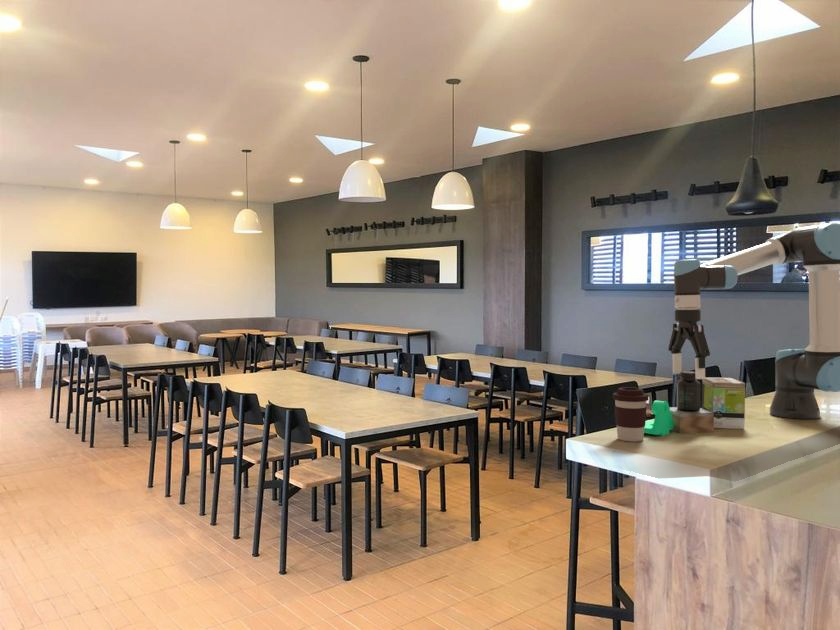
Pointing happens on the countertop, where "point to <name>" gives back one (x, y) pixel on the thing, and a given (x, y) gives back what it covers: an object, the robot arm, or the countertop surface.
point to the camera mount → (660, 419)
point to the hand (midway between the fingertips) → (688, 376)
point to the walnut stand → (692, 421)
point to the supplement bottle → (688, 392)
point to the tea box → (724, 401)
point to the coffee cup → (630, 413)
